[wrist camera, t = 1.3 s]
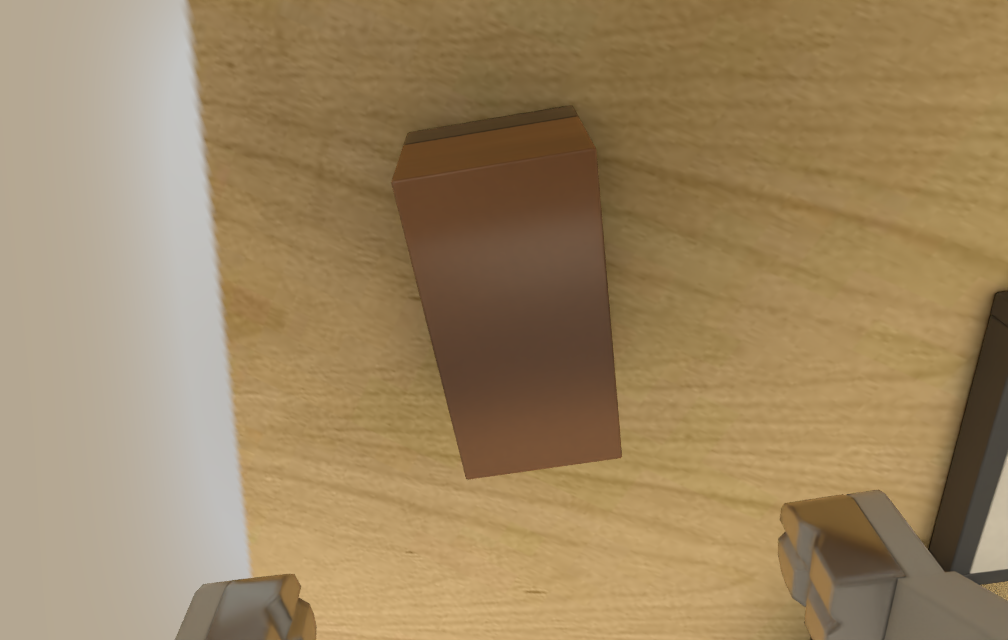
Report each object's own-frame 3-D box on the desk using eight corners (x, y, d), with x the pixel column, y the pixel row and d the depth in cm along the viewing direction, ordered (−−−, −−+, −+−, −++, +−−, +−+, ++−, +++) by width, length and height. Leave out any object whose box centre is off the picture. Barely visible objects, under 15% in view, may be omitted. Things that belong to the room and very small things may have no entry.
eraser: (407, 132, 18) (390, 181, 14) (572, 104, 18) (596, 147, 14) (467, 395, 22) (466, 480, 19) (599, 376, 22) (622, 458, 19)
